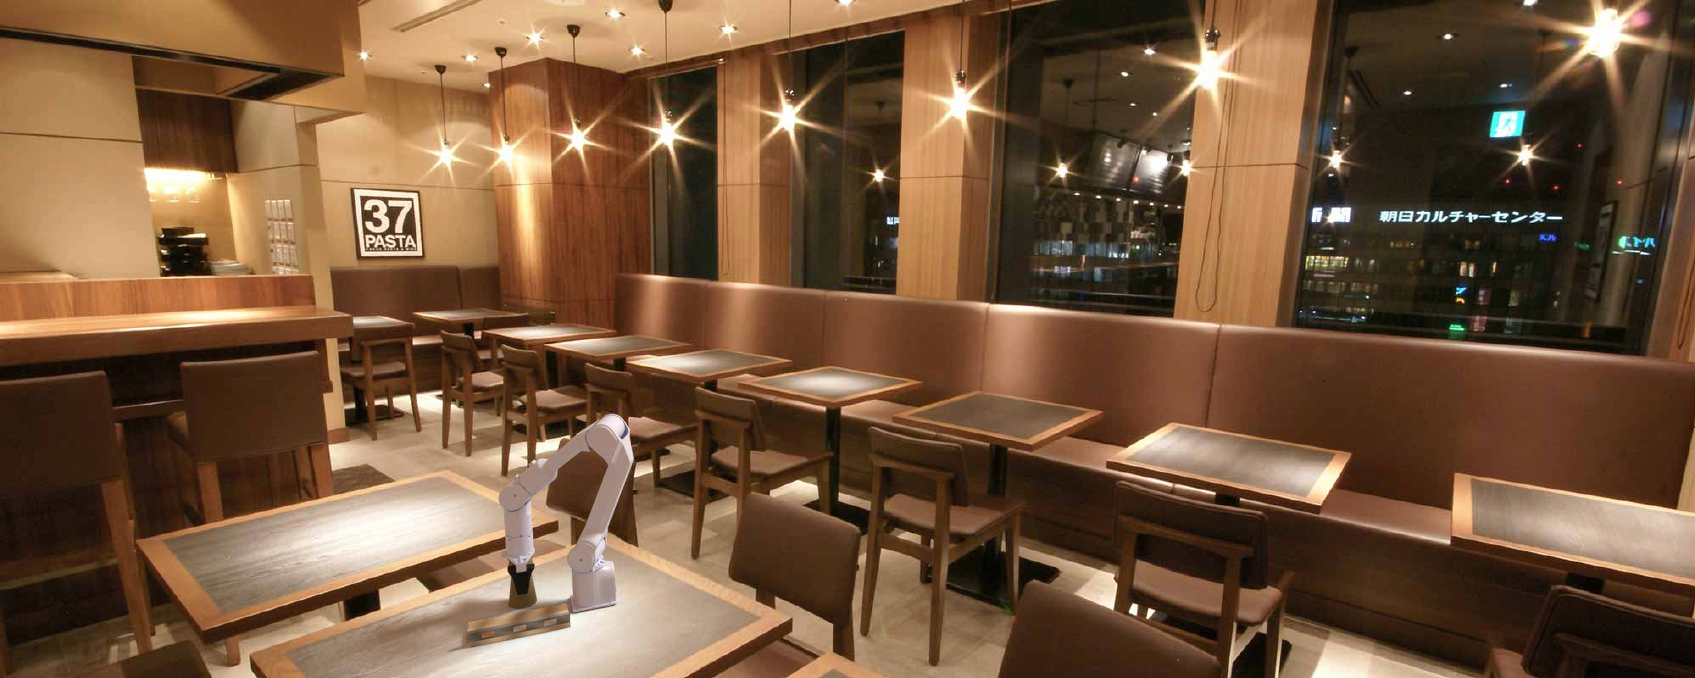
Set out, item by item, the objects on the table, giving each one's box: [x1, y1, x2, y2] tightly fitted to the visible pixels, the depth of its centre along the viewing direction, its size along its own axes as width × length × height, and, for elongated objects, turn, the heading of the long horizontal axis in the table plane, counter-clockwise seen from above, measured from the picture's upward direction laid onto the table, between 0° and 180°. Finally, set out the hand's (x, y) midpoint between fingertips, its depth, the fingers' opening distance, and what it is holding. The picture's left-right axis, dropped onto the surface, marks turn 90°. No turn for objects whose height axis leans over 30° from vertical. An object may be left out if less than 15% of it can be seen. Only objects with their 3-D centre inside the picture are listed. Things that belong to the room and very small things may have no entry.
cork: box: [507, 557, 538, 610], centre depth 171 cm, size 6×6×11 cm
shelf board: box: [466, 603, 571, 648], centre depth 161 cm, size 20×9×3 cm, turn 115°
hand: (522, 588), depth 171 cm, fingers closed on cork, 5 cm apart
